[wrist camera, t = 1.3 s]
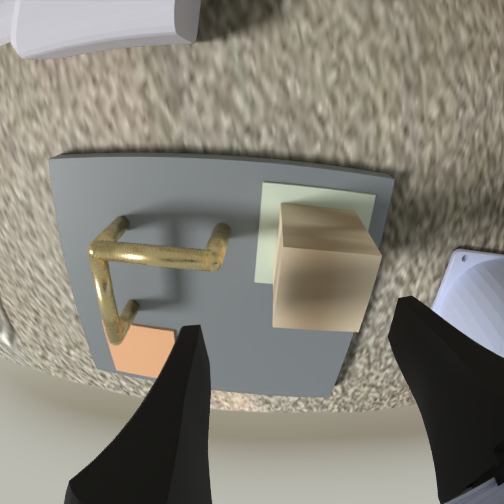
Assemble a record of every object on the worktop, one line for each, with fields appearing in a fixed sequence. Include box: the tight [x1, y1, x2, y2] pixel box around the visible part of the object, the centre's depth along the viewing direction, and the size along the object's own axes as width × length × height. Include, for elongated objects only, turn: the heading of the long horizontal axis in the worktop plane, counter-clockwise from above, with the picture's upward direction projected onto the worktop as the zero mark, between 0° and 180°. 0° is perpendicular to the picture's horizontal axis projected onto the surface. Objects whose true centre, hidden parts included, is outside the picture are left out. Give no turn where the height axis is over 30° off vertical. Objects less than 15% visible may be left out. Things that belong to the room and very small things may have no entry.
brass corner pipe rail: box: [88, 216, 231, 346], centre depth 18 cm, size 7×7×4 cm
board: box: [49, 152, 395, 397], centre depth 21 cm, size 20×18×1 cm
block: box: [273, 203, 382, 332], centre depth 15 cm, size 4×4×5 cm
